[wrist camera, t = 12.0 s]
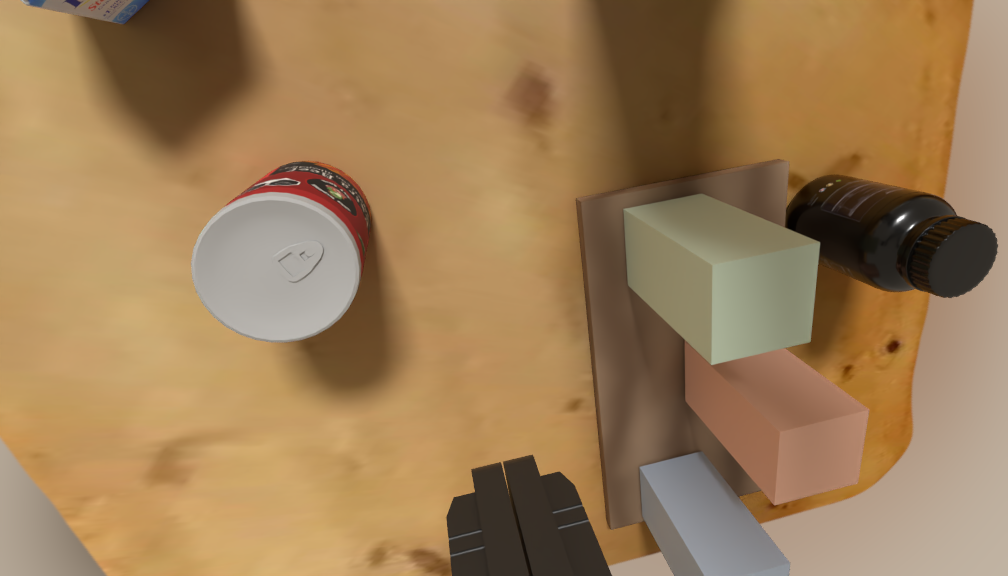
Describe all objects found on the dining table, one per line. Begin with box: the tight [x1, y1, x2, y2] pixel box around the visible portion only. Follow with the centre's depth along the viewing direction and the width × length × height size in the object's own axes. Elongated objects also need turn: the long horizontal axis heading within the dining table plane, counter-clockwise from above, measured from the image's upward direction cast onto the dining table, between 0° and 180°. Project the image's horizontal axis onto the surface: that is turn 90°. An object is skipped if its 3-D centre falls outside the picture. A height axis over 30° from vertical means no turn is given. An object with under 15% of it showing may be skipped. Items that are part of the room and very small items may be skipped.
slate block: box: [639, 451, 790, 576], centre depth 44 cm, size 6×6×12 cm
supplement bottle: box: [785, 175, 998, 298], centre depth 37 cm, size 7×7×12 cm
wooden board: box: [576, 159, 789, 530], centre depth 45 cm, size 16×32×1 cm, turn 8°
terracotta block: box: [685, 340, 869, 505], centre depth 39 cm, size 6×6×12 cm
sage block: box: [623, 194, 820, 365], centre depth 34 cm, size 6×6×12 cm
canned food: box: [191, 161, 371, 342], centre depth 31 cm, size 8×8×11 cm
